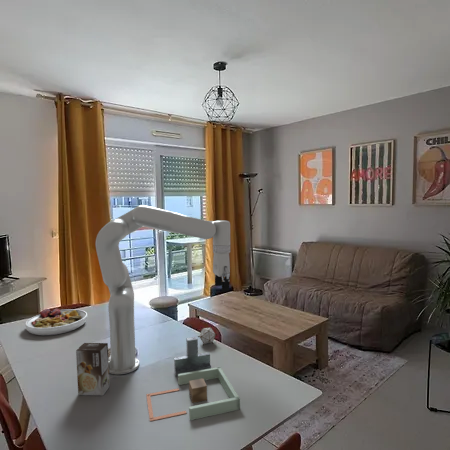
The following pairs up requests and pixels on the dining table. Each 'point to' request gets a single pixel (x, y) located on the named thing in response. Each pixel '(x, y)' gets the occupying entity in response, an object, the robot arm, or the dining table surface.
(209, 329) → the game die
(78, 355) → the coffee box
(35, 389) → the dining table surface
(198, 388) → the walnut block
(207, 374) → the sage pen
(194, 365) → the rake
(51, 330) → the plate of food
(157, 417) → the terracotta bay outline
